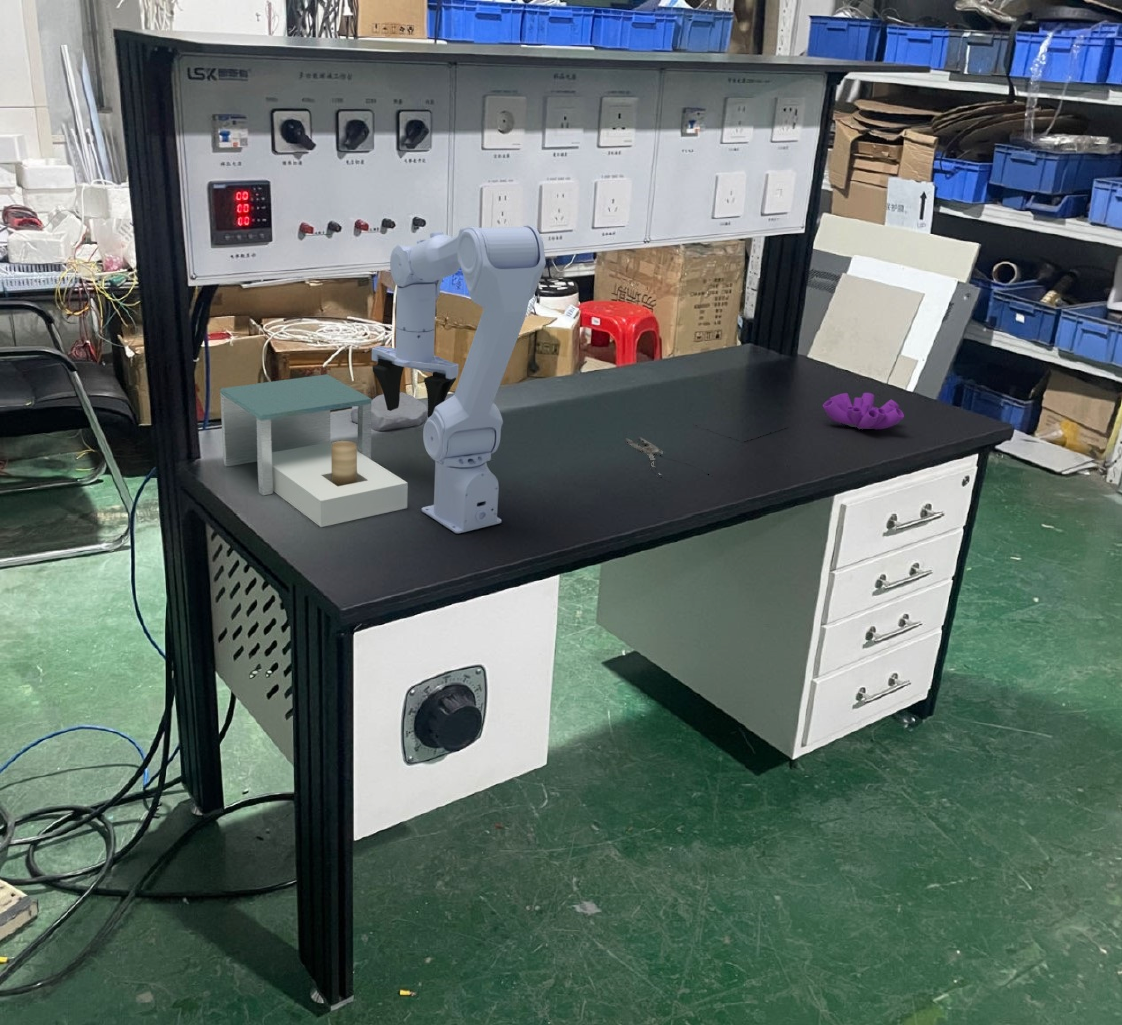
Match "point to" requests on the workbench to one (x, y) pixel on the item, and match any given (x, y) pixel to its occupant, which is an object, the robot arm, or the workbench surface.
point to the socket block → (334, 486)
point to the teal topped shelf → (285, 419)
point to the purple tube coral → (863, 411)
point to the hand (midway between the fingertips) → (413, 414)
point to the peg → (344, 463)
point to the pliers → (646, 449)
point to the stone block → (394, 413)
